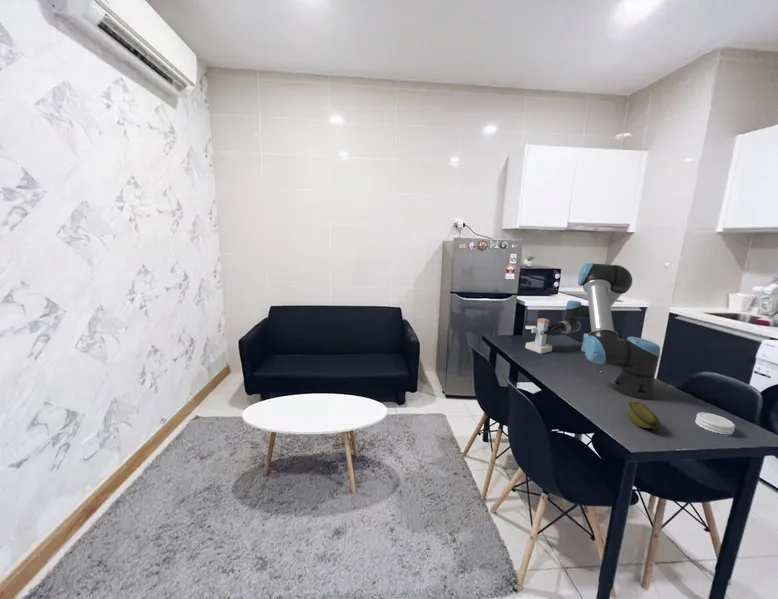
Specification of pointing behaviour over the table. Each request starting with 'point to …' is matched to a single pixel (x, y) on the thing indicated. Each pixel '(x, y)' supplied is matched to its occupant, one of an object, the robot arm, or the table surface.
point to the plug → (541, 325)
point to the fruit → (642, 416)
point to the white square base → (538, 347)
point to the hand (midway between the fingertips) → (535, 331)
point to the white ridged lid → (715, 423)
